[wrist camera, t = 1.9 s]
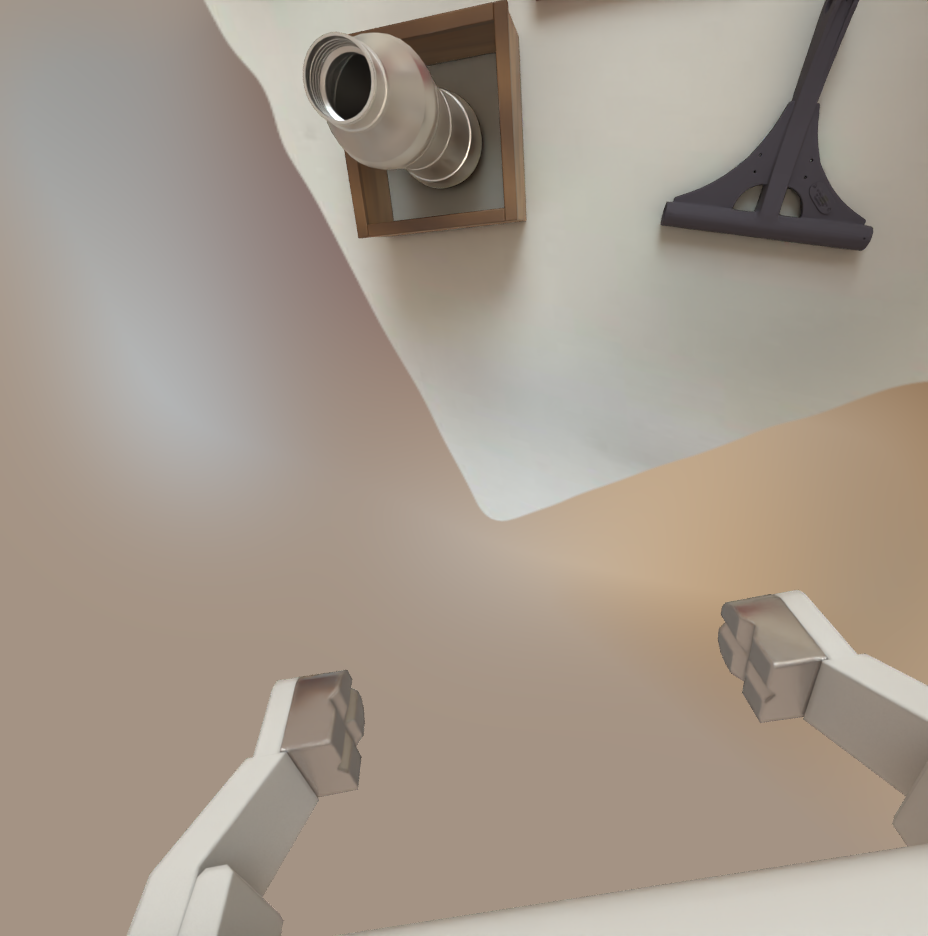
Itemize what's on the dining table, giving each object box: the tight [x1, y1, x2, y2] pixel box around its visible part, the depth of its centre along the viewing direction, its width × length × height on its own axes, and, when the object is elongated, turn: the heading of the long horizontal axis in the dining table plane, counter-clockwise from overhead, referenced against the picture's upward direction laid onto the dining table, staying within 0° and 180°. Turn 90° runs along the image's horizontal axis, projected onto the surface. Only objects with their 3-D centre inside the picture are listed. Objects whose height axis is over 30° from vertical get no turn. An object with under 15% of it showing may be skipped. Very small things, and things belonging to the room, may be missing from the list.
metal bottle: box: [303, 32, 482, 188], centre depth 33 cm, size 6×7×20 cm
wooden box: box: [344, 0, 526, 238], centre depth 39 cm, size 13×13×6 cm
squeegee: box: [661, 0, 873, 251], centre depth 35 cm, size 14×15×3 cm
